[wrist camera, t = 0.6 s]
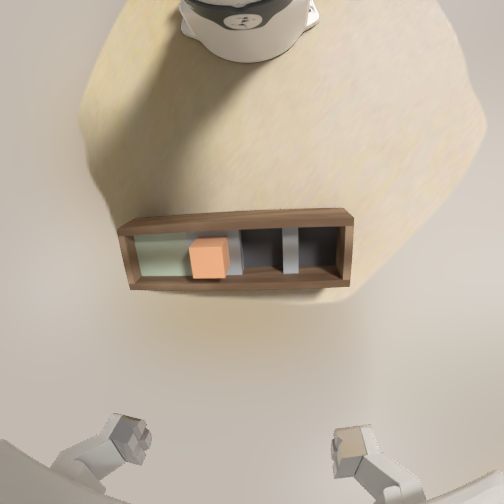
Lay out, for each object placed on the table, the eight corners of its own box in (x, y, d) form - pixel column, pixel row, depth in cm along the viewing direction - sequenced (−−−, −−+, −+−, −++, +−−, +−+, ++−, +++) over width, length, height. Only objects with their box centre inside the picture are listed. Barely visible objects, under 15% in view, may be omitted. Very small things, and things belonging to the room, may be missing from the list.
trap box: (134, 218, 39) (116, 229, 34) (343, 208, 37) (353, 217, 31) (145, 273, 43) (130, 289, 37) (340, 269, 40) (349, 286, 35)
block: (197, 237, 36) (188, 247, 33) (227, 236, 36) (221, 246, 32) (201, 265, 38) (193, 278, 34) (230, 264, 38) (225, 278, 34)
